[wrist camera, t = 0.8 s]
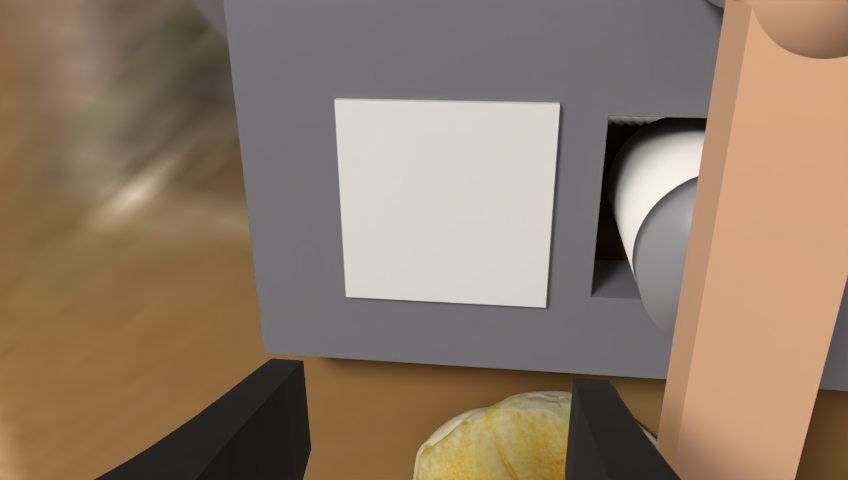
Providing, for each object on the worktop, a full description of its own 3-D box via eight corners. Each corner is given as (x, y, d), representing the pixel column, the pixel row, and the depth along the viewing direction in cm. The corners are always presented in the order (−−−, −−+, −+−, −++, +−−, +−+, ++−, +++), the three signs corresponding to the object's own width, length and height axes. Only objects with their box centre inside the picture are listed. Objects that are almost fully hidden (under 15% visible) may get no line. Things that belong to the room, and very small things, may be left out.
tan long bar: (737, -117, 11) (767, -124, 10) (906, -120, 11) (960, -128, 10) (650, 451, 16) (662, 499, 15) (768, 461, 16) (791, 510, 14)
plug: (764, 116, 19) (863, 187, 14) (739, 249, 21) (818, 361, 15) (614, 112, 19) (650, 180, 14) (601, 243, 21) (629, 350, 16)
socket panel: (1090, -138, 16) (1389, -179, 10) (929, 349, 21) (1074, 494, 16) (247, -122, 18) (130, -148, 13) (289, 312, 23) (218, 427, 18)
